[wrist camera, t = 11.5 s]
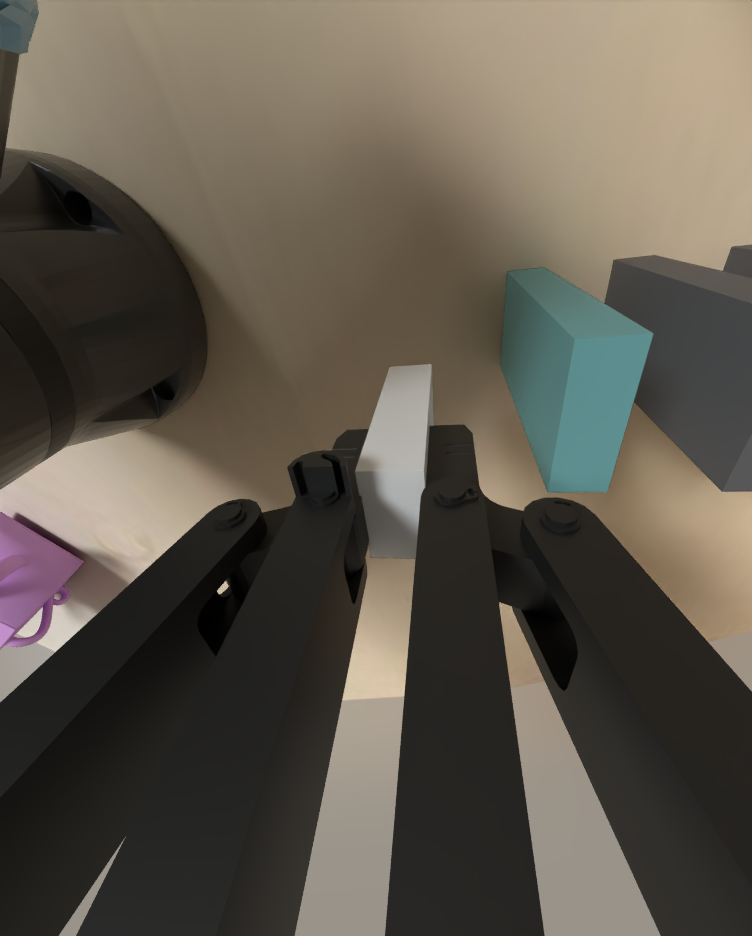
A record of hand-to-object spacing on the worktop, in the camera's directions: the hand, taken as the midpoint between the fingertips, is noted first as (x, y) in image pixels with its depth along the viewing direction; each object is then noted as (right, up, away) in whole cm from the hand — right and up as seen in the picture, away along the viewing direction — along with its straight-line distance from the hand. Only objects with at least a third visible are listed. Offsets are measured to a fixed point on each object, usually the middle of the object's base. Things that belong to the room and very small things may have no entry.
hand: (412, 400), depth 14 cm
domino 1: (+7, +6, +7) cm, 11 cm away
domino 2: (+11, +6, +6) cm, 14 cm away
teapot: (-39, -11, +27) cm, 49 cm away
